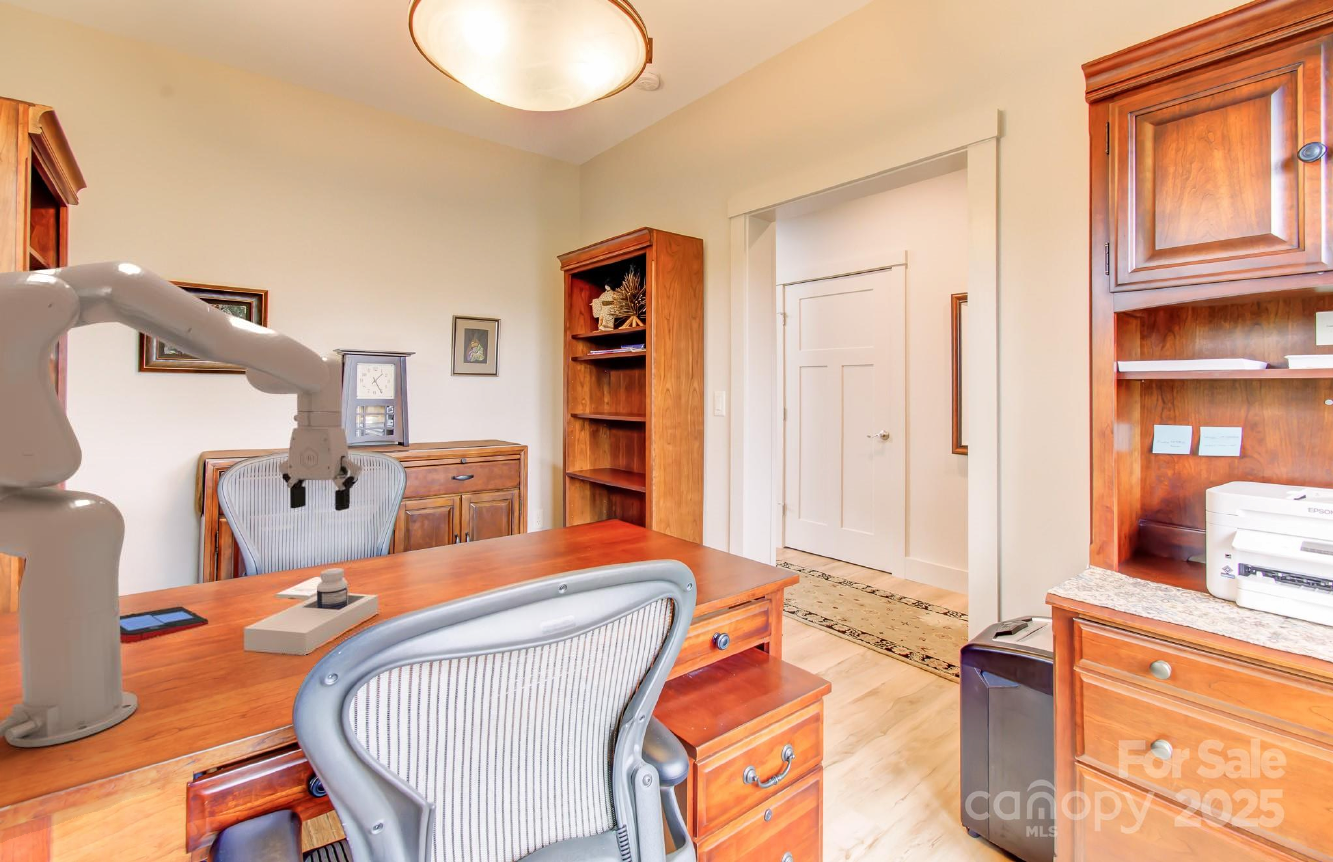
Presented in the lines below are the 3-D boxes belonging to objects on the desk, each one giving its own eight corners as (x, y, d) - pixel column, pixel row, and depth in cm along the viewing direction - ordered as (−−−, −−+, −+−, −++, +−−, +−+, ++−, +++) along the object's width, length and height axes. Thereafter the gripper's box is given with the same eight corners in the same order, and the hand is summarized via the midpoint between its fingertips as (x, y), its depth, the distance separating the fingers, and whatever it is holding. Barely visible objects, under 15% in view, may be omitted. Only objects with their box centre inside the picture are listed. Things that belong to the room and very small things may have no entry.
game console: (210, 626, 116) (209, 615, 116) (124, 648, 105) (124, 636, 105) (182, 610, 124) (182, 600, 124) (100, 629, 113) (100, 618, 113)
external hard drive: (345, 584, 143) (309, 602, 130) (313, 583, 144) (274, 600, 131) (345, 578, 143) (309, 594, 130) (313, 576, 144) (274, 593, 131)
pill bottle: (321, 615, 120) (320, 568, 119) (351, 613, 121) (350, 566, 121) (314, 625, 114) (313, 575, 114) (345, 622, 116) (344, 573, 116)
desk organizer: (305, 655, 102) (305, 632, 102) (244, 650, 104) (243, 628, 104) (378, 614, 122) (378, 595, 122) (325, 610, 124) (325, 591, 124)
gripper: (264, 420, 113) (265, 509, 113) (346, 422, 110) (346, 513, 111) (295, 419, 120) (295, 503, 121) (372, 421, 118) (372, 507, 118)
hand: (320, 508), depth 116 cm, fingers open, 9 cm apart
